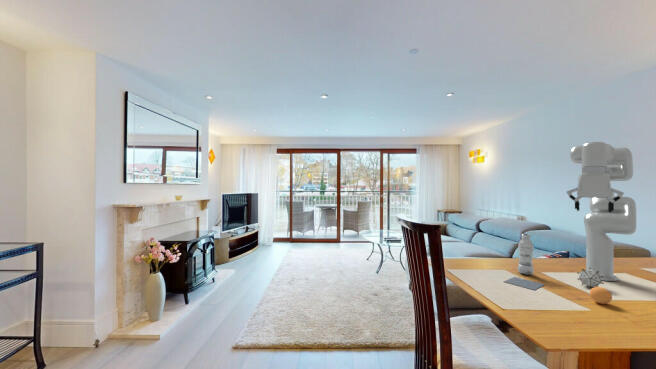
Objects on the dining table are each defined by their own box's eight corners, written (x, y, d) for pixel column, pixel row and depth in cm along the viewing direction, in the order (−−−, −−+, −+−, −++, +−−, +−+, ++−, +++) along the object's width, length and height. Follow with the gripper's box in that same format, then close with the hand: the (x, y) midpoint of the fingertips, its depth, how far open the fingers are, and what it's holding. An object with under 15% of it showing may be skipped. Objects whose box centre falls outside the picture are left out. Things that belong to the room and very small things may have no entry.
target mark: (514, 277, 132) (514, 276, 132) (545, 284, 122) (545, 284, 122) (503, 281, 125) (503, 281, 125) (534, 290, 115) (534, 289, 115)
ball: (591, 298, 107) (592, 283, 107) (613, 304, 102) (613, 288, 102) (587, 302, 103) (587, 286, 103) (610, 308, 98) (610, 291, 98)
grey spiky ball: (596, 296, 118) (614, 283, 112) (575, 288, 120) (592, 274, 114) (587, 281, 125) (604, 267, 120) (568, 273, 127) (583, 259, 121)
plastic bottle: (530, 272, 139) (530, 233, 139) (535, 277, 132) (536, 236, 132) (515, 271, 141) (516, 233, 141) (520, 275, 134) (520, 235, 134)
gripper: (622, 171, 112) (621, 212, 112) (566, 172, 124) (566, 209, 123) (625, 170, 107) (625, 213, 106) (566, 171, 118) (566, 210, 118)
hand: (593, 211), depth 115 cm, fingers open, 9 cm apart
